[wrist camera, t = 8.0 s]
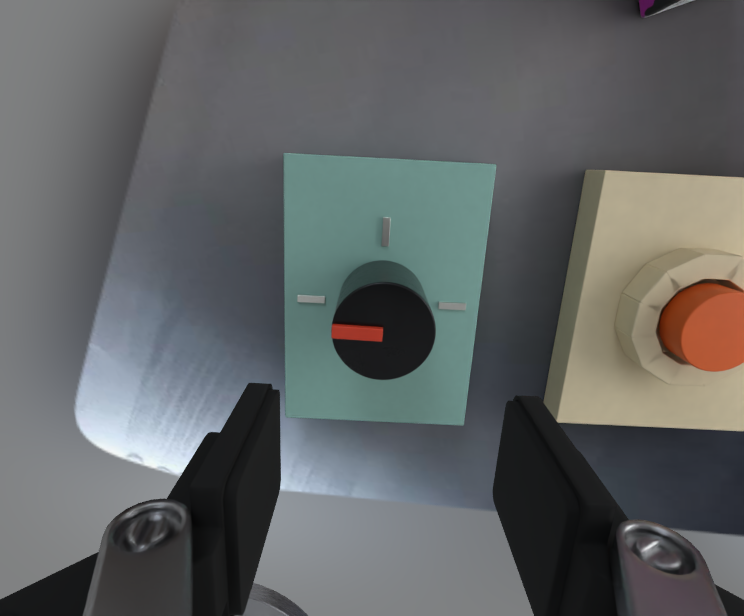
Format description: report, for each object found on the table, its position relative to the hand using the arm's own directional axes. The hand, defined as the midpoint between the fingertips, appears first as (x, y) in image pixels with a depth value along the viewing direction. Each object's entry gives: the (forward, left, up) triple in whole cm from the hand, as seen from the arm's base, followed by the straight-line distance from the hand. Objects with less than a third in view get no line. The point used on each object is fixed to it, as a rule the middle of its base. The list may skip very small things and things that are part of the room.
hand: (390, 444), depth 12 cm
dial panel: (0, 0, -16) cm, 16 cm away
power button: (0, -16, -12) cm, 20 cm away
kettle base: (0, -16, -16) cm, 22 cm away
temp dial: (0, 0, -12) cm, 12 cm away
